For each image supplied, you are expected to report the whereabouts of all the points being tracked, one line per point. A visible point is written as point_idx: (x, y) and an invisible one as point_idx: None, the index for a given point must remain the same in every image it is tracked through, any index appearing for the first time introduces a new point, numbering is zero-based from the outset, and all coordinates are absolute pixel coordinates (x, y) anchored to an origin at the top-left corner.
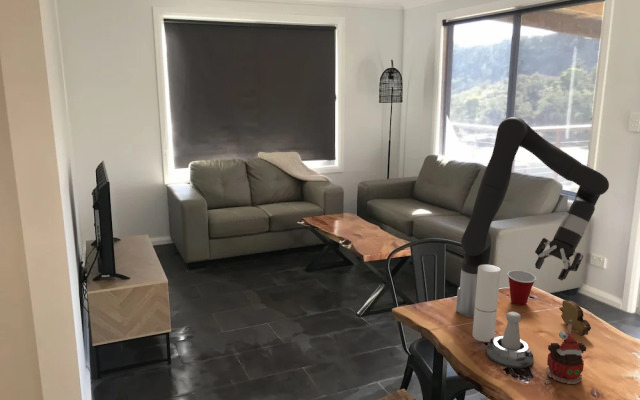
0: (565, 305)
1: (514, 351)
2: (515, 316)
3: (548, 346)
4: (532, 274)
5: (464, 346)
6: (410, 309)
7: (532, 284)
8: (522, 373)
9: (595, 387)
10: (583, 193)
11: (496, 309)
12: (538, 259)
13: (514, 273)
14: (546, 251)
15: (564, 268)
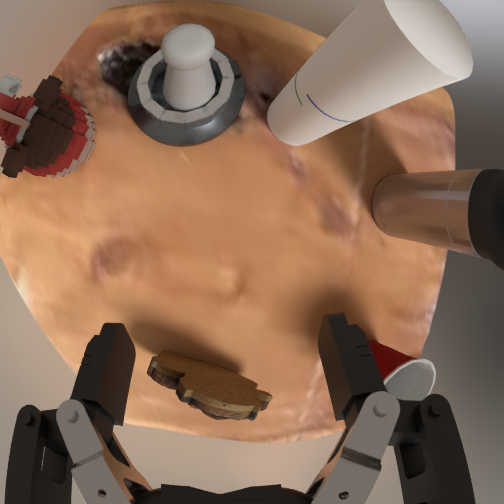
0: (246, 399)
1: (152, 59)
2: (170, 31)
3: (58, 79)
4: None
5: (279, 49)
6: (444, 111)
7: None
8: (123, 69)
9: (19, 172)
10: None
11: (300, 100)
12: (371, 374)
13: (423, 389)
14: (355, 480)
15: (94, 410)
